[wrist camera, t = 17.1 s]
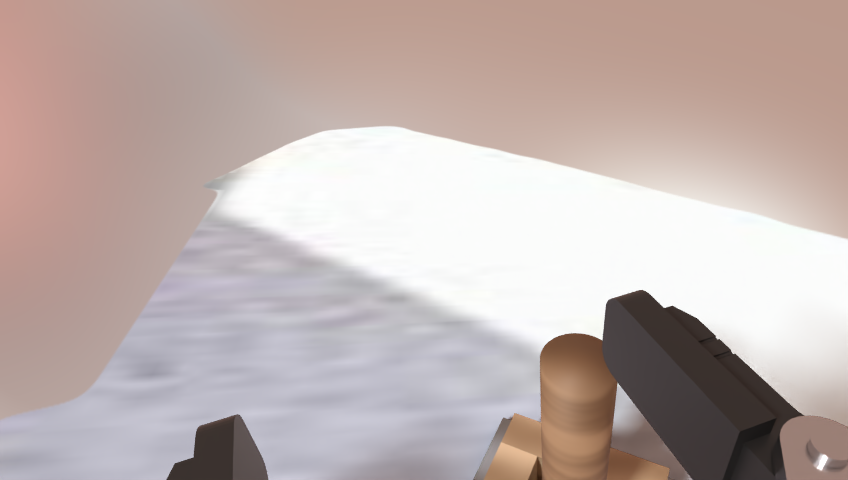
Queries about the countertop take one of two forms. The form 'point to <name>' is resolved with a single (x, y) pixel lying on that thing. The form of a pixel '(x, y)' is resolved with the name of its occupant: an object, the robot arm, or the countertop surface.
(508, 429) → the socket block
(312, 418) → the countertop surface
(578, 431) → the peg
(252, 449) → the robot arm
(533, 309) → the countertop surface
